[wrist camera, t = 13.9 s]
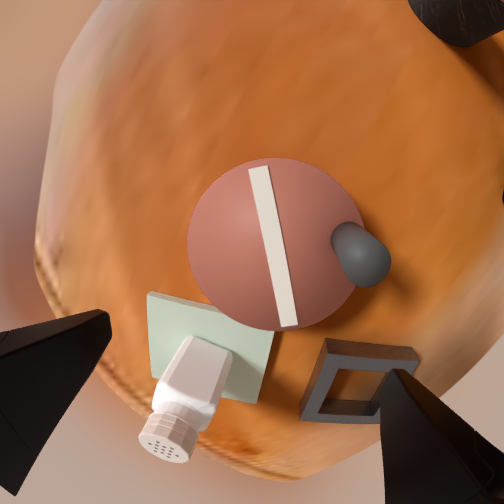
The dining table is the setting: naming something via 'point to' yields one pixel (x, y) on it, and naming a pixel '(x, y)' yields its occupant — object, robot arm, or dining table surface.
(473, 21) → the travel mug
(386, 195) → the dining table surface
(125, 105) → the dining table surface
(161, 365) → the board
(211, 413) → the pepper shaker
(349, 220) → the handwheel
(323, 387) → the dark grey square frame
